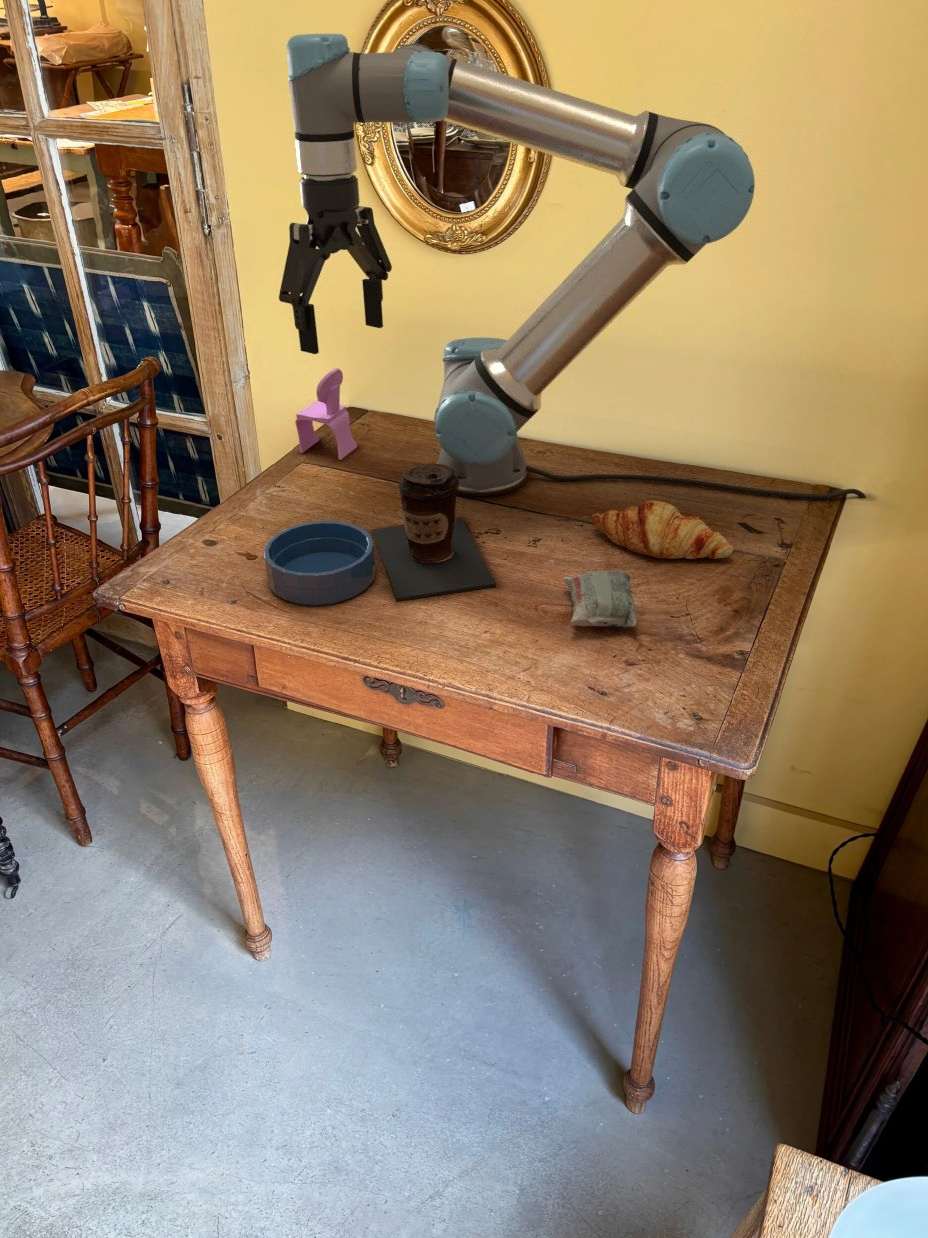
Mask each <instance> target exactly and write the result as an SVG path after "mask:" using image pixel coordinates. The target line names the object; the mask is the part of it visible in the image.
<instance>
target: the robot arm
mask: <svg viewBox="0 0 928 1238" xmlns="http://www.w3.org/2000/svg"><path fill="white" fill-rule="evenodd" d="M286 58H287V76H288V77H287V83H288V89H289V96H290V104H291V111H292V112H291V113H292V119H293V120H292V121H293V129H294V138H295V148H296V150H295V151H296V158H297V159H296V160H297V167H298V173H300V174H301V175H303V176H302V177H300V180H299V187H300V188H299V189H300V197H301V206H302V208H303V209H304V210H305V211H306V214H307V220H306V223H298V222H291V223H290V224H289V227H288V228H289V229H288V231H289V244H288V250H287V255H286V258H285V259H286V260H285V264H284V269H283V274H282V279H281V284H280V288H279V294H278V300H279V302H281V303H285V304H290V305H291V306H292V313H293V322H294V327H295V329H296V330H298V339H299V348H300V352H304V353H308V354H312V355H317V354H320V350H319V339H318V333H317V332H318V330H317V322H316V313H315V304H313V303H310V301H311V298H312V296H313V293H314V290H315V288H316V285H317V282H318V280H319V278H320V275H321V273H322V270H323V267H324V265H325V263H326V261H327V260H329V259H330V257H331V254H337V253H338V252H339V251H347V253H349V255H350V257H351V258H352V259H353V260H354V261H355V263H356V264H357V265H358V267H359V268H360V270H361V271H362V272H363V274H364V275H365V276H366V277H367V278H364V279H362V280H361V281H362V282H361V283H362V293H363V294H362V295H363V306H364V319H365V320H364V322H365V326H368V327H372V328H377V329H382V328H383V327H384V321H383V320H384V319H383V305H382V302H383V299H384V294H383V281H388V279H389V273H390V272H392V269H393V265H392V262H391V261H390V258H389V256H388V254H387V253H388V252H387V250H386V249H385V245H384V243H383V241H382V238H381V236H380V234H379V231H378V229H377V226H376V223H375V217H374V212H373V211H374V210H373V208H372V207H370V206H362V205H360V189H359V187H360V186H359V178H358V177H357V175H355V174H354V173H356V171H357V170H358V160H357V159H358V158H357V147H356V137H355V123H360V124H366V123H416V124H417V125H422V124H424V123H433V122H434V123H435V122H443V121H444V122H446V123H450V124H453V125H456V126H459V127H461V128H465V129H469V130H472V131H474V132H478V133H481V134H484V135H488V136H490V137H494V138H496V139H500V140H503V141H506V142H510V143H512V144H515V145H519V146H521V147H525V148H528V149H532V150H533V151H537V152H540V153H543V154H547V155H549V156H553V157H556V158H559V159H562V160H565V161H569V162H571V163H575V164H578V165H581V166H584V167H586V168H587V167H588V168H590V169H593V170H597V171H600V172H603V173H606V174H609V175H612V176H615V177H616V178H617V180H618V182H619V184H620V186H621V187H624V188H627V189H629V190H630V189H631V191H630V192H629V193H628V194H627V195H626V196H625V197H624V207H623V208H624V210H623V211H624V212H623V216H622V218H621V219H619V221H618V222H617V223H616V224H615V225H614V226H613V227H612V228H611V230H610V231H609V232H608V233H606V235H605V236H604V237H602V239H601V240H600V241H599V242H598V243H597V244H596V246H594V248H592V250H591V251H589V253H588V254H587V255H586V256H585V257H584V258H583V259H582V260H581V261H580V263H579V264H577V266H576V267H575V268H574V269H572V271H571V272H570V273H569V274H568V275H567V276H566V277H565V278H564V279H563V280H562V282H561V283H560V284H558V286H557V287H556V288H555V289H554V290H553V291H552V292H551V293H550V294H549V296H547V297H546V299H545V300H544V301H543V302H542V303H541V304H540V305H539V306H538V307H537V308H536V309H535V310H534V312H532V313H531V315H530V316H529V317H528V318H526V320H525V321H524V322H523V323H522V324H521V325H520V326H519V327H518V328H517V330H516V331H515V332H514V333H513V334H512V335H511V336H510V337H509V338H508V339H503V338H499V337H465V338H459V339H454V340H452V341H450V342H448V343H446V345H445V346H444V348H443V357H442V362H443V384H442V389H441V391H440V395H439V401H438V405H437V407H436V409H435V412H434V420H433V421H434V430H435V436H436V439H437V441H438V444H439V445H440V447H441V449H440V453H439V456H438V460H437V462H435V463H436V464H443V465H447V466H449V467H451V468H452V469H453V470H455V472H454V475H456V476H457V477H458V479H459V488H458V492H457V494H459V495H464V496H468V497H492V496H499V495H505V494H506V493H510V492H512V491H515V490H517V489H518V488H520V487H521V486H522V485H524V484H525V482H526V481H527V479H528V473H533V474H535V475H539V476H542V477H545V478H547V479H550V480H554V481H561V482H562V481H563V482H573V481H574V482H575V481H586V480H634V481H635V480H636V481H651V482H654V481H655V482H663V483H664V482H665V483H674V484H681V485H689V486H690V485H691V486H699V487H706V488H713V489H719V490H720V489H721V490H728V491H735V492H743V493H748V494H749V493H751V494H757V495H764V496H774V497H783V498H794V499H795V498H796V499H808V500H809V499H810V500H829V499H835V498H840V497H841V496H846V495H856V496H857V497H859V498H860V499H867V496H866V494H865V493H864V492H862V491H861V490H859V489H856V488H847V489H842V490H839V491H834V492H831V493H806V492H805V493H803V492H794V491H783V490H773V489H763V488H755V487H748V486H740V485H734V484H724V483H717V482H711V481H704V480H697V479H689V478H680V477H679V478H678V477H670V476H659V475H645V474H625V473H622V474H619V473H618V474H617V473H595V474H593V473H592V474H582V475H581V474H580V475H558V474H553V473H550V472H547V471H544V470H542V469H539V468H535V467H532V466H528V465H527V460H526V457H525V454H524V452H523V449H522V445H521V442H520V439H519V436H518V432H519V431H520V430H521V429H522V428H523V427H524V426H525V425H526V424H527V423H528V422H529V420H531V419H532V417H534V416H535V415H536V414H537V413H538V412H539V411H540V410H541V408H542V393H543V392H544V391H545V390H546V389H547V388H548V387H549V386H550V385H551V384H552V383H553V382H554V381H555V380H556V378H558V377H559V376H560V375H561V374H562V373H563V372H564V371H565V370H566V369H567V368H568V367H569V366H570V365H571V364H572V363H573V362H574V361H575V360H576V359H577V358H578V357H579V356H580V355H581V354H582V353H583V352H584V351H585V350H586V348H588V347H589V346H590V345H591V344H592V343H593V342H594V341H595V339H597V338H598V337H599V336H600V335H601V333H603V332H604V331H605V330H606V329H607V328H608V326H609V325H611V324H612V322H614V321H615V320H616V318H618V317H619V315H621V313H623V312H624V311H625V309H627V308H628V306H630V304H631V303H632V302H634V300H636V298H638V296H640V294H642V292H643V291H645V290H646V288H647V287H649V286H650V284H651V283H652V282H654V281H655V279H656V278H657V277H658V276H659V275H660V274H661V273H663V271H665V269H666V268H668V267H669V266H674V265H686V264H688V263H689V262H690V261H691V260H692V259H693V258H694V257H695V256H696V255H697V254H698V253H699V252H700V251H702V249H703V248H704V247H705V246H706V245H708V244H712V243H715V242H718V241H720V240H722V239H724V238H726V237H727V236H729V235H730V234H732V233H733V232H734V231H735V230H736V229H737V228H738V227H739V226H740V225H741V223H743V220H744V219H745V218H746V216H747V214H748V213H749V210H750V208H751V206H752V203H753V200H754V195H755V187H756V185H755V184H756V182H755V174H754V170H753V166H752V163H751V161H750V159H749V155H748V154H747V152H745V150H744V149H743V146H742V145H740V144H739V143H738V142H736V140H735V139H733V137H731V136H728V135H727V134H726V133H725V132H724V131H722V130H721V129H720V128H718V127H716V126H714V125H711V124H708V123H704V122H699V121H693V120H686V119H680V118H675V117H671V116H667V115H666V116H665V115H662V114H659V113H656V112H653V111H649V110H644V111H642V112H641V113H639V114H637V115H633V114H629V113H627V112H624V111H620V110H618V109H614V108H611V107H609V106H605V105H601V104H599V103H595V102H593V101H589V100H586V99H583V98H581V97H577V96H573V95H571V94H567V93H564V92H561V91H559V90H555V89H552V88H548V87H545V86H542V85H539V84H536V83H533V82H530V81H527V80H524V79H521V78H519V77H514V76H512V75H509V74H505V73H503V72H499V71H495V70H493V69H490V68H486V67H484V66H480V65H477V64H474V63H471V62H468V61H465V60H461V59H456V58H454V57H451V56H448V55H445V54H443V53H441V52H438V51H437V52H436V51H434V50H432V49H431V48H429V46H426V45H424V44H418V43H415V42H414V43H409V44H408V43H406V44H404V45H403V44H402V45H401V46H400V47H398V48H397V49H396V50H394V51H387V52H367V53H362V52H355V51H351V48H350V47H349V43H348V39H347V36H346V35H344V34H342V33H305V34H297V35H293V36H291V37H290V38H289V39H288V40H287V44H286Z"/></svg>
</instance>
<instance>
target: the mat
mask: <svg viewBox="0 0 928 1238" xmlns="http://www.w3.org/2000/svg"><path fill="white" fill-rule="evenodd" d="M372 535H373V537H374V540H375V543H376V546H377V549H378V552H379V555H380V558H381V560H382V563H383V566H384V569H385V572H386V575H387V578H388V581H389V584H390V586H391V589H392V593H393V595H394V598H395V601H396V602H398V603H399V602H403V601H409V600H411V601H412V600H417V599H424V598H429V597H437V596H443V595H450V594H457V593H464V592H471V591H476V590H477V591H478V590H484V589H491V588H496V587H497V583H496V581H495V579H494V577H493V575H492V573H491V571H490V569H489V567H488V566H487V564H486V562H485V560H484V558H483V556H482V554H481V552H480V550H479V548H478V546H477V544H476V543H475V541H474V539H473V537H472V535H471V533H470V531H469V529H468V526H467V525H466V524H465V521H464V520H463V518H462V516H460V517H456V518H455V525H454V529H453V535H452V540H451V542H452V543H451V546H452V548H453V555H452V557H451V558H450V559H447V560H445V561H442V562H436V563H423V562H419V561H416V560H414V559H413V558H412V557H411V556H410V554H409V545H408V540H407V536H406V532H405V526H404V524H400V525H393V526H386V527H378V528H372Z"/></svg>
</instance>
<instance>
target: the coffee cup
mask: <svg viewBox="0 0 928 1238" xmlns="http://www.w3.org/2000/svg"><path fill="white" fill-rule="evenodd" d="M436 463H437V462H435V463H434V462H433V463H422V464H419V465H416V466H412V467H408V468H406V469H405V470H404V472H403V476H402V477H401V478H400V480H399V483H398V489H399V495H400V503H401V508H402V518H403V525H404V526H405V532H406V536H407V540H408V545H409V554H410V556H411V557H412V558H413V559H414V560H416V561H419V562H423V563H436V562H442V561H445V560H447V559H450V558H451V557H452V555H453V548H452V546H451V543H452V542H451V540H452V535H453V529H454V525H455V518H457V517H456V516H457V514H456V512H457V511H456V510H457V509H456V507H457V494H458V493H457V492H458V488H459V479H458V477H457V476H456V475H454V472H455V470H453V469H452V468H451V467H449V466H447V465H443V464H436Z"/></svg>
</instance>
